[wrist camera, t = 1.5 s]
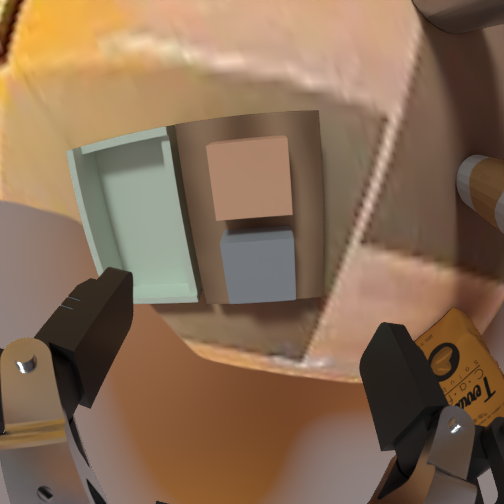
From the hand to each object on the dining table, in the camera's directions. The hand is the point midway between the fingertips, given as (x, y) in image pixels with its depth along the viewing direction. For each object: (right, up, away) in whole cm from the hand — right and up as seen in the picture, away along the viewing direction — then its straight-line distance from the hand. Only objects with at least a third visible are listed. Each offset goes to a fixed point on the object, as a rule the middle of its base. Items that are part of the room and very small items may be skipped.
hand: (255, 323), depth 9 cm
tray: (-12, +6, +22) cm, 26 cm away
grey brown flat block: (0, +7, +21) cm, 22 cm away
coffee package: (+27, -11, +29) cm, 41 cm away
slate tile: (+1, +2, +19) cm, 19 cm away
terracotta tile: (0, +9, +16) cm, 18 cm away
